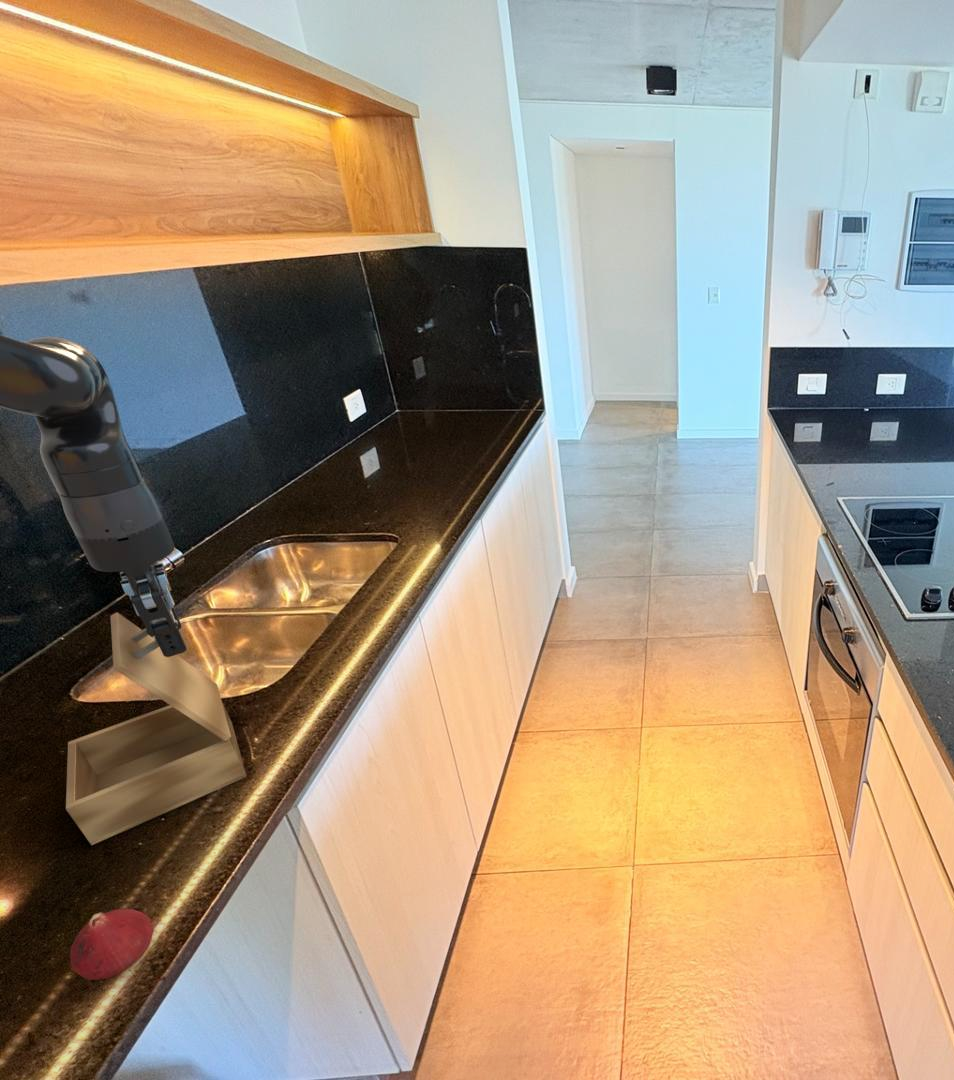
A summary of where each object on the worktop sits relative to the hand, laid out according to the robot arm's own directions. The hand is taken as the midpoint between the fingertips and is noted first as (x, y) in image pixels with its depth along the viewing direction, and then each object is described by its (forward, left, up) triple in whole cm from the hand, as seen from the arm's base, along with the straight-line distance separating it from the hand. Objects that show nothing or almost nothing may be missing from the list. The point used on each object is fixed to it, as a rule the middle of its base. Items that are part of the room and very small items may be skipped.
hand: (173, 641), depth 78 cm
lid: (-2, -1, -5) cm, 6 cm away
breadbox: (-6, -3, -20) cm, 21 cm away
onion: (+2, -29, -20) cm, 35 cm away
